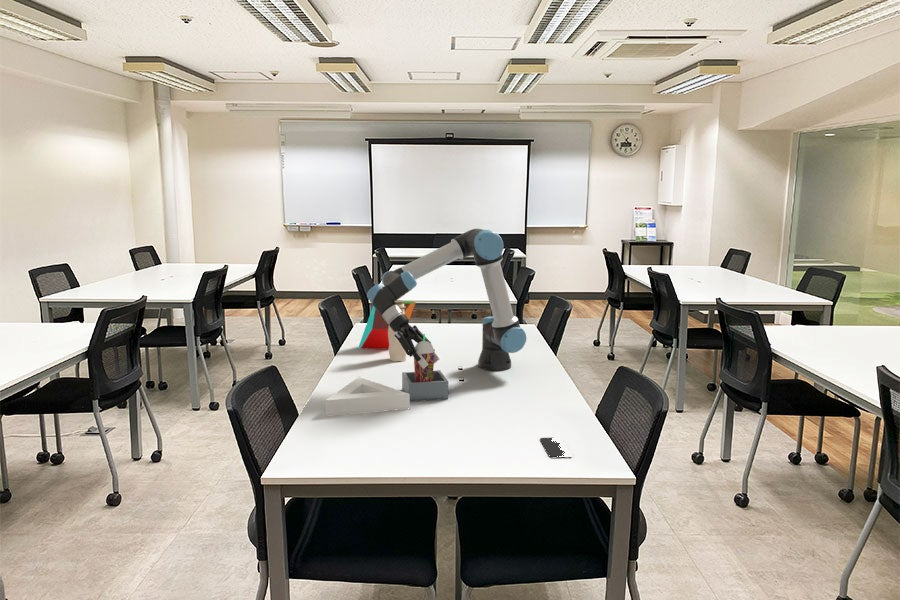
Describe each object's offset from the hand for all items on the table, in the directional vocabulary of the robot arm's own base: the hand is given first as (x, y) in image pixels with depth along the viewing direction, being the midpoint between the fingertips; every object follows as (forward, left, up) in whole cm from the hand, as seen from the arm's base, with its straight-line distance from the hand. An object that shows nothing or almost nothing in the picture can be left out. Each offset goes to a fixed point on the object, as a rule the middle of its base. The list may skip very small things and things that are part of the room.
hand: (431, 363), depth 244 cm
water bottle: (+5, -55, -13) cm, 57 cm away
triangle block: (+26, +1, -14) cm, 30 cm away
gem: (+7, -79, -13) cm, 81 cm away
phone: (-28, +58, -13) cm, 66 cm away
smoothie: (+3, -2, -9) cm, 10 cm away
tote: (+2, -2, -13) cm, 13 cm away
